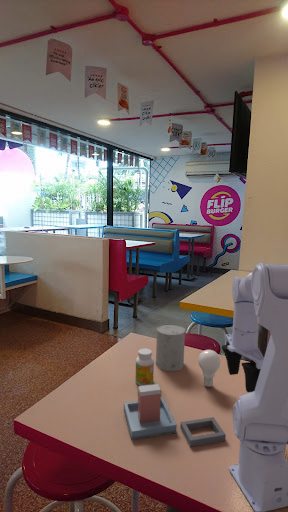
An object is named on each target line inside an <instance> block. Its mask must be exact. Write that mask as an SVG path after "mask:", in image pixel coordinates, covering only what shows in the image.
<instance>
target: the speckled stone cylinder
mask: <svg viewBox="0 0 288 512" xmlns="http://www.w3.org/2000/svg"><path fill="white" fill-rule="evenodd" d="M185 336H186V328H185V327H184V326H181V325H179V324H175V323H174V324H173V323H165V324H161V325H158V326H157V327H156V341H155V342H156V343H155V345H156V346H155V347H156V348H155V366H156V367H157V368H158V369H160V370H162V371H167V372H176V371H179V370H182V369H183V368H184V366H185V363H184V362H185V360H184V359H185V339H186V337H185Z"/></svg>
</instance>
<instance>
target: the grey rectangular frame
mask: <svg viewBox="0 0 288 512" xmlns="http://www.w3.org/2000/svg"><path fill="white" fill-rule="evenodd" d="M208 427H211V428H212V430H213V431H214V432H213V433H205V434H201V435H195V436H194V435H193V434H192V432H191V430H195V429H196V430H197V429H202V428H208ZM179 428H180V430H181V432H182V434H183V436H184V438H185V440H186V442H187V444H188V446H189V447H197V446H204V445H208V444H214V443H220V442H225V441H226V433H225V431H224V430H223V428H222V427H221V425H220V424H219V423H218V422H217V420H216V418H215V417H213V416H212V417H206V418H198V419H191V420H186V421H181V422H180V427H179Z"/></svg>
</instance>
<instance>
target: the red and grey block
mask: <svg viewBox="0 0 288 512" xmlns="http://www.w3.org/2000/svg"><path fill="white" fill-rule="evenodd" d="M161 392H162V390H161V387H160V385H159V384H158V383H155V384H154V383H153V384H151V385H145V386H140V385H138V387H137V393H138V394H137V401H138V419H139V422H140V423H145V422H152V421H159V420H160V403H161V398H162V397H161V396H162V393H161Z"/></svg>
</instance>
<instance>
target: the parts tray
mask: <svg viewBox="0 0 288 512" xmlns="http://www.w3.org/2000/svg"><path fill="white" fill-rule="evenodd" d="M123 412H124V416H125V421H126V423H127V428H128V432H129V435H130V438H131V441H132V440H140V439H145V438H151V437H159V436H163V435H164V436H165V435H169V434H176V433H177V429H178V428H177V427H178V425H177V423H176V421H175V418H174V417H173V414H172V413H171V410H170V408H169V407H168V404H167V403H166V400H165V399H164V397H161V403H160V420H159V421H152V422H145V423H140V422H139V419H138V400H134V401H127V402H123Z"/></svg>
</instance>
